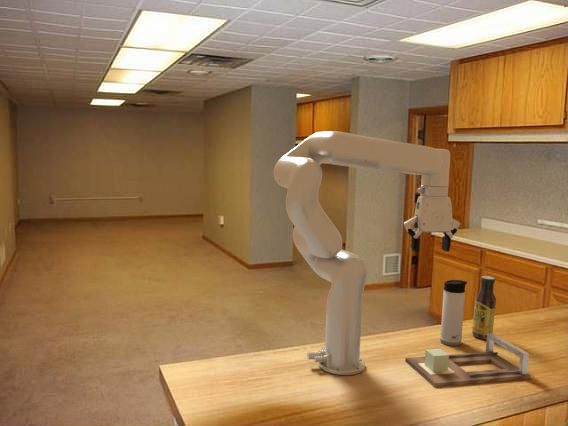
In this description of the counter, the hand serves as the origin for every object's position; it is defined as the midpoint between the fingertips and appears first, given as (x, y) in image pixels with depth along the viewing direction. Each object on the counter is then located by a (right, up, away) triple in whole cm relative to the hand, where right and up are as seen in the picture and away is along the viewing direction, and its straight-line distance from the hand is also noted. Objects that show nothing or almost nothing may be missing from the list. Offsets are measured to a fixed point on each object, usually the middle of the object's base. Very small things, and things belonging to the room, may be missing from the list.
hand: (430, 250), depth 148 cm
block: (-2, -31, -11) cm, 33 cm away
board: (+7, -32, -9) cm, 34 cm away
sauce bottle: (+22, -29, +17) cm, 40 cm away
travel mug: (+10, -30, +11) cm, 33 cm away
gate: (+19, -31, -6) cm, 36 cm away
